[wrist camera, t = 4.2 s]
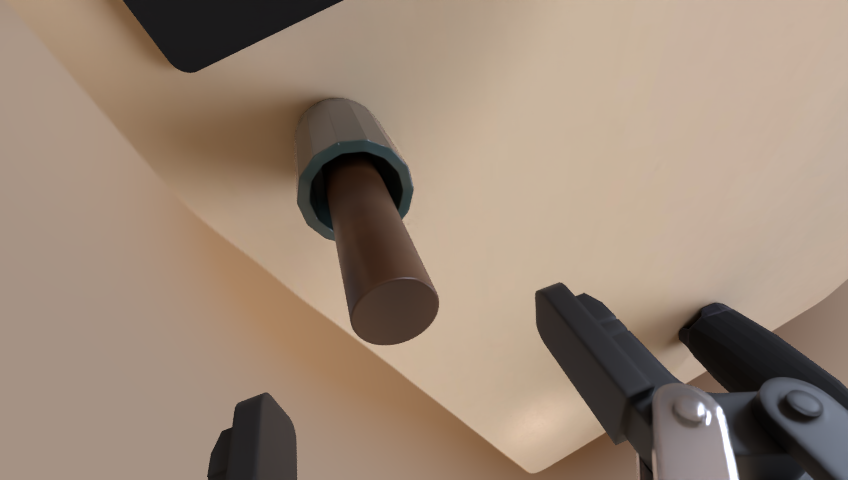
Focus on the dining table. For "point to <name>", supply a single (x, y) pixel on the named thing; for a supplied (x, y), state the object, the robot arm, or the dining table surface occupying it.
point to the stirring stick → (376, 255)
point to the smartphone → (216, 25)
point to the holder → (334, 135)
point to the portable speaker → (751, 354)
